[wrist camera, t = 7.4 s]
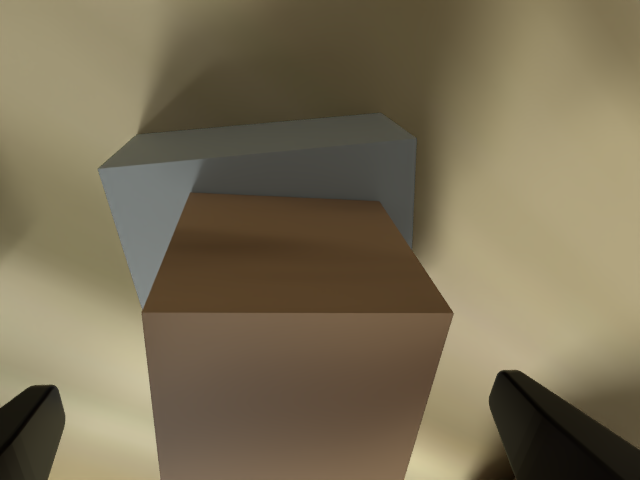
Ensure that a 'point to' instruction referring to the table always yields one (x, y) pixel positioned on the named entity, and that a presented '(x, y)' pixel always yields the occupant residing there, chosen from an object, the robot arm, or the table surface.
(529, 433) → the robot arm
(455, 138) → the table surface
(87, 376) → the table surface
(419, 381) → the walnut cube
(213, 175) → the base block
